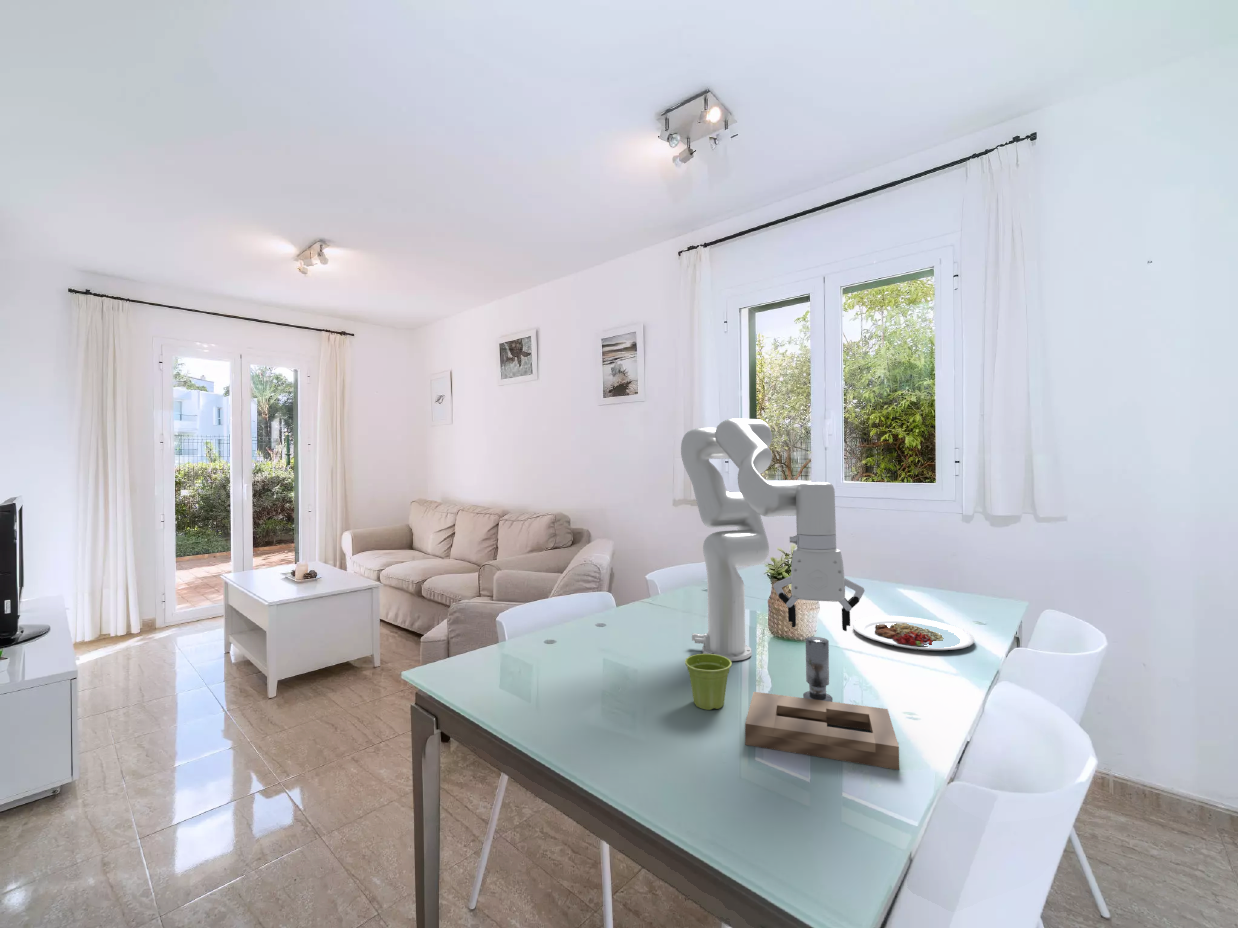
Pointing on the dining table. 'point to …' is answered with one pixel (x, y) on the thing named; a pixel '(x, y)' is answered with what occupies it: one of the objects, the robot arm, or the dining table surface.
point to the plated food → (909, 632)
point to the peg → (817, 668)
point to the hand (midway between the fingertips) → (818, 627)
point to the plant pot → (708, 679)
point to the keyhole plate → (822, 729)
